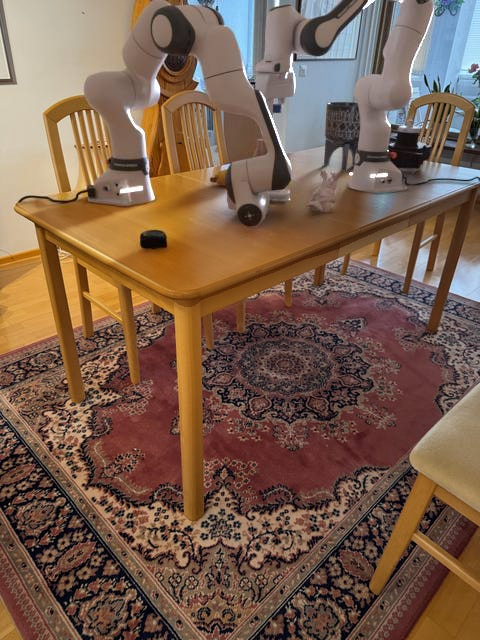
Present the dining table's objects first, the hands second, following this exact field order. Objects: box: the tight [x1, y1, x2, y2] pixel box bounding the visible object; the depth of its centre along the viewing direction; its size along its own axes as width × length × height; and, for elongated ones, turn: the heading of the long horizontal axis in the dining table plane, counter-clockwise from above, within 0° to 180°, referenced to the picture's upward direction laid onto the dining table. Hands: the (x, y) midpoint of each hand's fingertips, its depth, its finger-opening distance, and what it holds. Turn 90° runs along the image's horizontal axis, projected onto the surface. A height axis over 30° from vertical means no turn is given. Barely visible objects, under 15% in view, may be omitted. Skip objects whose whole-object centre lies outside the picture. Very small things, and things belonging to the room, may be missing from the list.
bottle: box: [252, 138, 268, 158], centre depth 147 cm, size 5×5×21 cm
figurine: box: [305, 168, 338, 213], centre depth 146 cm, size 8×15×13 cm, turn 145°
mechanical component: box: [388, 119, 433, 174], centre depth 204 cm, size 22×21×30 cm
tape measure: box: [139, 229, 168, 250], centre depth 117 cm, size 7×7×4 cm
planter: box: [323, 101, 360, 172], centre depth 204 cm, size 20×20×26 cm
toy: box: [209, 168, 228, 188], centre depth 176 cm, size 11×6×15 cm
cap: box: [273, 103, 283, 114], centre depth 151 cm, size 4×5×2 cm
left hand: (260, 189), depth 150 cm, fingers closed on bottle, 5 cm apart
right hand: (274, 113), depth 152 cm, fingers closed on cap, 4 cm apart
